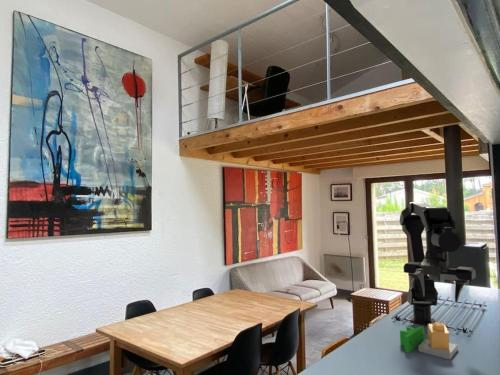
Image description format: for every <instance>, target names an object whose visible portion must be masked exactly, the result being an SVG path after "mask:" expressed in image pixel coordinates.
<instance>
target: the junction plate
mask: <svg viewBox="0 0 500 375" xmlns="http://www.w3.org/2000/svg"><path fill="white" fill-rule="evenodd" d="M458 351H459V347H458V344H457V343H456V344H455V343H451V342H449V349H440V348H432V347H431V345H430V343H429V340H428V337H426V338H425V340H424V341H423V342H422V343H421V344H420V345H419V346H418V352H420V353H424V354H426V355H427V354H428V355H431V356H435V357H439V358H442V359H445V360H452V358H453V356H455V355H456V353H457V352H458Z"/></svg>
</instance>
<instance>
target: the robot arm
mask: <svg viewBox="0 0 500 375" xmlns="http://www.w3.org/2000/svg"><path fill="white" fill-rule="evenodd" d="M399 224H400V226H401V229H402V232H403V233H404V234H405V236H406V237H407V239H408V246H409V253H410V259H411V261H408V262H406V263H405V264H404V265H403V273H406V274H408V276H410V277H412V278H411V280H410V283H409V288H408V291H407V293H406V300H407V303H408V304H409V305H410V306H412V310H413V311H412V313H413V314H412V316H413V317H412V318H410V320H409V321H410V322H411V323H417V324H421V325H425V326H428V324H433V323H434V322H436V319H434V318H432V306H435V307H437V306H438V305H437V304H438V298H439V297H438V296H439V292H438V290H437V288H436V284H435V281H434V279H433V278H431V277H430V276H433V277H440V276H441V275H449V276H450V275H451V276H455V277H456V278H455V279H454V283H455V286H454V287H455V289H454V290H455V292H454V301H455V302H456V303H457V302H458V301H459V298H460V296H461V292H462V291H463V288H464V286H465V285H466V283H469V281H473V280H474V279H475V278H476V277H477V274H476V269H475V268H474V267H470V266H469V267H468V266H458V267H457V268H450V262H449V253H452V252H453V253H454V252H456V251H457V250H459V249H460V246H461V242H462V241H461V239H460V236H459V235H458V234H457V233H456V232H453V230H456V222H455V220H454V217H453V215H452V213H451V211H450V210H449V209H448V207H447V206H433V205H430V204H427V203H425V202H423V201H411V202H409V203H408V206H406V207H405V208H404V209H402V210H401V212H400V216H399ZM424 231H425V243H426V245H425V246H426V247H425V248H426V250H424V244H423V236H422V234H423V232H424Z"/></svg>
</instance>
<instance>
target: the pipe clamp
mask: <svg viewBox="0 0 500 375" xmlns="http://www.w3.org/2000/svg"><path fill="white" fill-rule="evenodd" d="M399 338H400V339H399V340H400V341H399V343H400V347H404V352H406V353H411V352H412V351H413V350H414V349H416V348H418V347H419V345H420V344H421V343H422V342H423V341H424V340H425V339H426V338H425V326H422V325H420V326H418V327H415V328H414V327H412V326H406V330H402V329H401V330H399Z"/></svg>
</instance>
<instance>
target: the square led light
mask: <svg viewBox="0 0 500 375" xmlns="http://www.w3.org/2000/svg"><path fill="white" fill-rule="evenodd" d="M446 326H447V325H446V324H443V323H441V322H437V321H434V322H433V323H432V324H428V325H427V338H428V340H429V343H430V345H431V347H432V348H440V349H449V343H450V332H449V330H448V329H447V327H446Z"/></svg>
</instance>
